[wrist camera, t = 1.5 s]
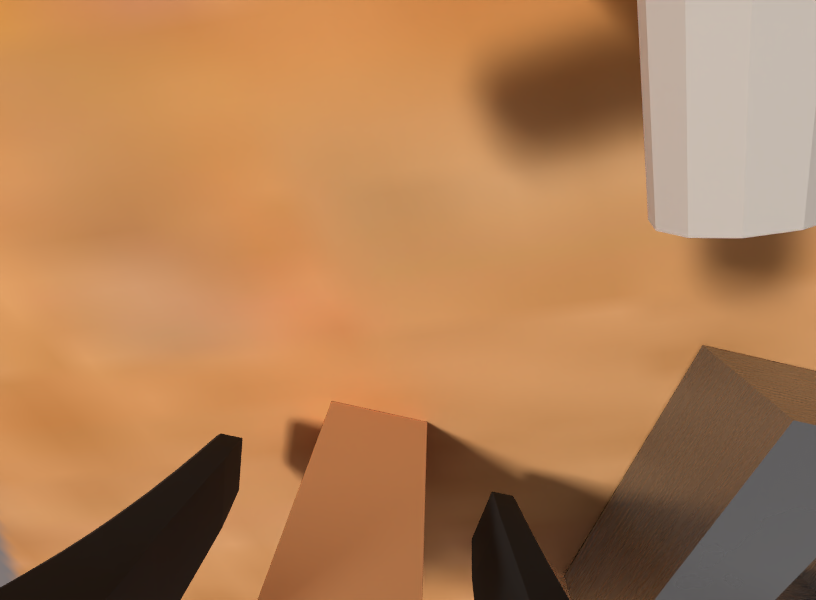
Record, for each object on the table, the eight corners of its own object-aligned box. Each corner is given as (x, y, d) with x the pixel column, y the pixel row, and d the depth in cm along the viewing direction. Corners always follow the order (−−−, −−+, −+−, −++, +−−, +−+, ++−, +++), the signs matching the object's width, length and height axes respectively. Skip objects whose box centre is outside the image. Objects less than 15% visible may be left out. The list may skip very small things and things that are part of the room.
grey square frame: (821, 629, 15) (906, 741, 12) (564, 575, 15) (593, 678, 12) (1047, 424, 11) (1247, 522, 8) (702, 345, 11) (793, 420, 8)
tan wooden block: (406, 490, 14) (387, 735, 8) (319, 471, 14) (240, 707, 8) (427, 421, 12) (420, 656, 7) (331, 401, 12) (249, 621, 7)
